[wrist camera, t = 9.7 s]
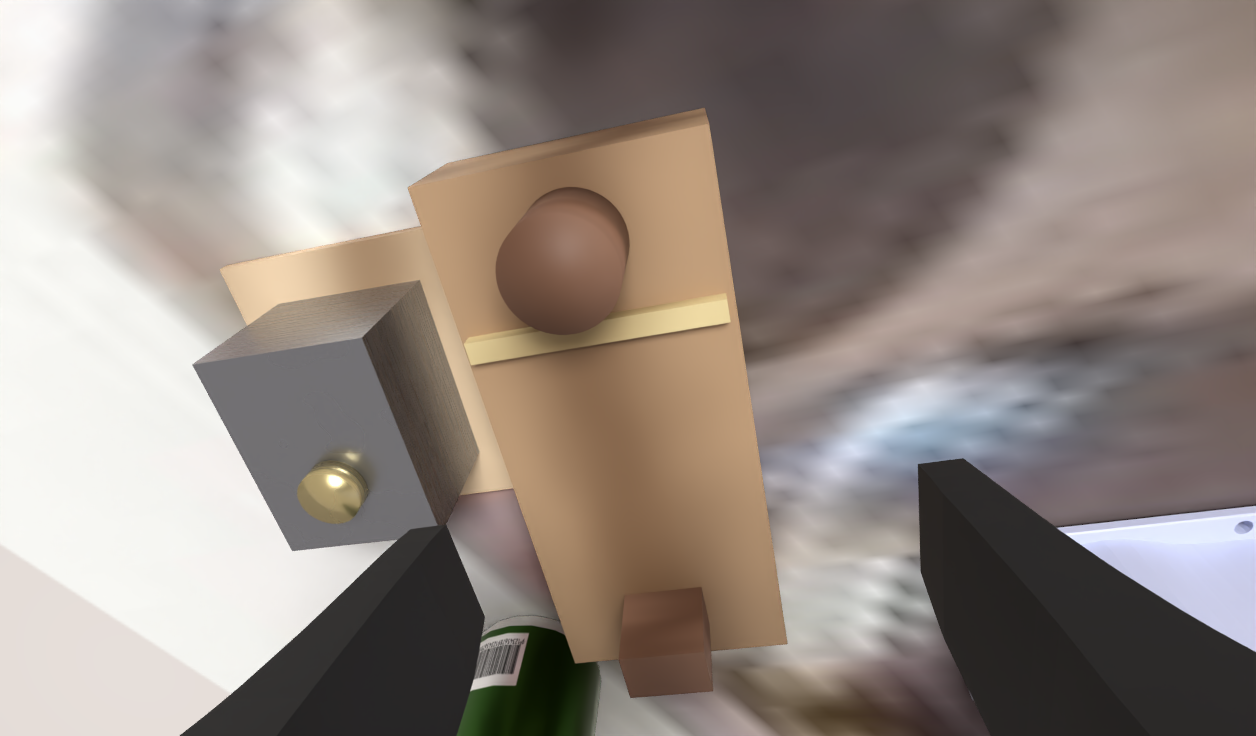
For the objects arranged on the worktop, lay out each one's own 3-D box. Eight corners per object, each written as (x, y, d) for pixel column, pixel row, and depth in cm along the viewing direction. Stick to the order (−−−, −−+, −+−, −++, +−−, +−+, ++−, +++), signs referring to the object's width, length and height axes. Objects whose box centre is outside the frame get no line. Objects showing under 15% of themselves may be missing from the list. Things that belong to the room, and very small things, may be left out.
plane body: (704, 108, 17) (714, 141, 12) (775, 575, 24) (799, 712, 19) (447, 162, 18) (364, 214, 13) (586, 595, 25) (564, 730, 20)
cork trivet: (447, 220, 19) (443, 224, 19) (533, 478, 23) (531, 485, 23) (227, 265, 20) (219, 269, 20) (345, 504, 24) (340, 511, 24)
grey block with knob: (419, 279, 19) (350, 349, 15) (479, 451, 22) (434, 549, 18) (278, 303, 20) (175, 376, 16) (352, 468, 23) (281, 566, 19)
